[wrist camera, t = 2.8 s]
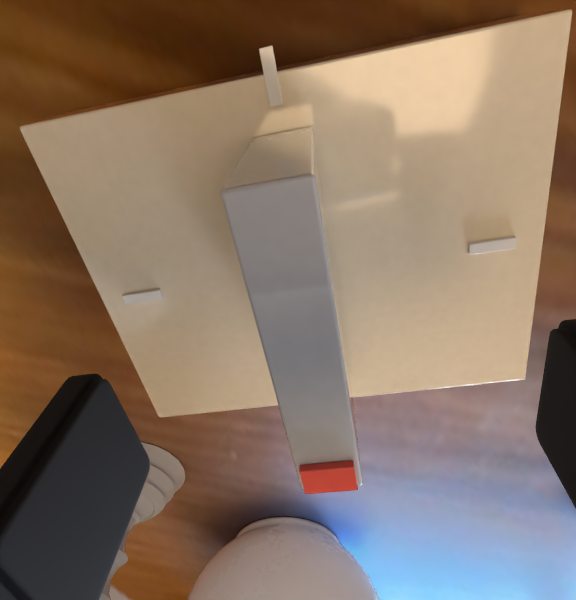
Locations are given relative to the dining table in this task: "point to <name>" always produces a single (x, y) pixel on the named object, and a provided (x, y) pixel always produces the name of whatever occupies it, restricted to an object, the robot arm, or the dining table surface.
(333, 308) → the red-tipped grey bar
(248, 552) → the lidded bowl
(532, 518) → the dining table surface
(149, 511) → the chalice
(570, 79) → the dining table surface
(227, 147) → the plate
